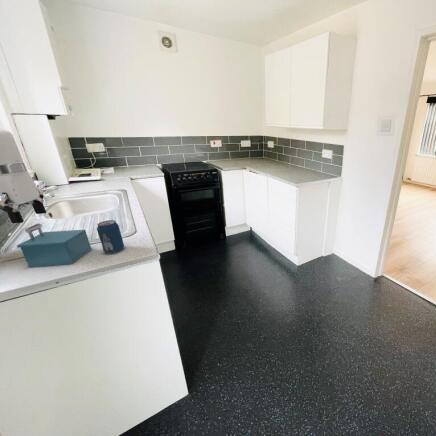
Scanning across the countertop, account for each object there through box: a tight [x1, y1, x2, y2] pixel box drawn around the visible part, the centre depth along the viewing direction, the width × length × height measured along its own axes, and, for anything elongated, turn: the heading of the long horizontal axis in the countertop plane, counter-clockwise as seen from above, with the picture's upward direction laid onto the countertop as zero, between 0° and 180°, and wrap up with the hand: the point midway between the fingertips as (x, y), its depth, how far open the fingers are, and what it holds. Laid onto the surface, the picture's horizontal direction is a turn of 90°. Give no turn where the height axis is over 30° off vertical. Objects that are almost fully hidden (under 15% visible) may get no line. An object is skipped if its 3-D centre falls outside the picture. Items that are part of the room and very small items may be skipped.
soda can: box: [96, 219, 125, 255], centre depth 96 cm, size 7×7×12 cm
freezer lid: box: [16, 222, 86, 248], centre depth 90 cm, size 15×12×6 cm
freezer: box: [19, 231, 92, 268], centre depth 92 cm, size 14×12×8 cm
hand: (30, 217), depth 87 cm, fingers open, 9 cm apart
